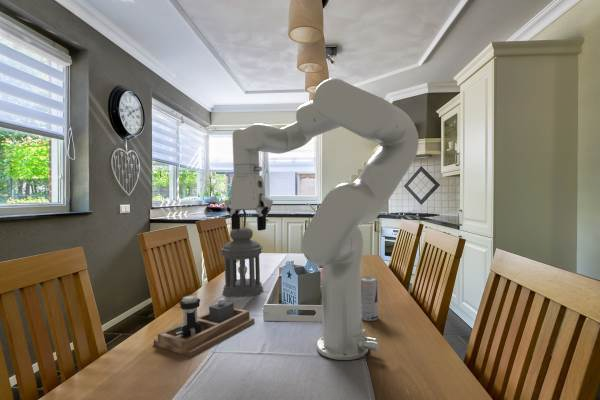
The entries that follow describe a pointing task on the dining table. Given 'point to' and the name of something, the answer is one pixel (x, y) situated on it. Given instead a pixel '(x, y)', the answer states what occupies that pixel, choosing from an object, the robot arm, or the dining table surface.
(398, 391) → the dining table surface
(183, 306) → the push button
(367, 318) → the energy drink
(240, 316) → the brown wooden divided tray
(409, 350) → the dining table surface
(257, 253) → the lantern
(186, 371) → the dining table surface
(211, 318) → the plug block
